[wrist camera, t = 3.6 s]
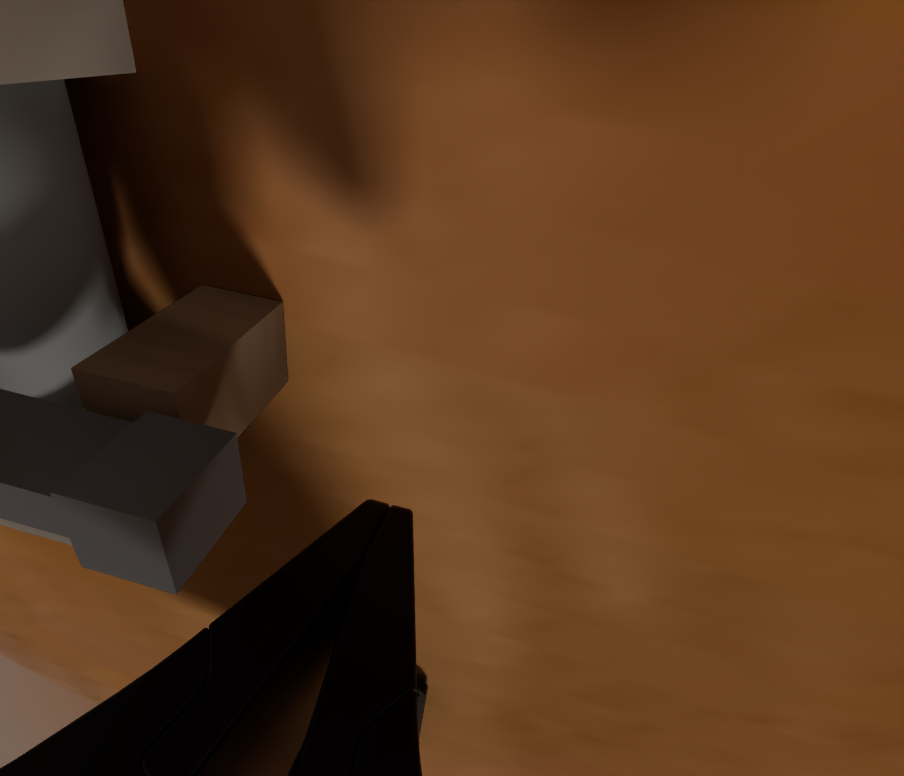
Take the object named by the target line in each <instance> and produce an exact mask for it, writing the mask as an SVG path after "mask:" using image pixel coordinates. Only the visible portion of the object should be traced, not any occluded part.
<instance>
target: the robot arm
mask: <svg viewBox="0 0 904 776" xmlns="http://www.w3.org/2000/svg"><path fill="white" fill-rule="evenodd" d="M427 690H428V686H427V684H426V683H425V682H424V681H423V680H421V679H419V678H417V677H416V633H415V588H414V543H413V512H412V511H411V510H410V509H407V508H403V507H399V506H395V505H393V506H391V507H390V506H389V504H387V503H384V502H380V501H376V500H372V499H369V500H366V501H365V502H363V503H362V504H361V505H360V506H358V507H357V508H356V509H354V510H353V511H352V512H351V513H349V514H348V515H347V516H346V517H344V518H343V519H342V520H341V521H339V522H338V523H337V524H336V525H334V526H333V527H332V528H331V529H329V530H328V531H327V532H325V533H324V534H323V535H322V536H320V537H319V538H318V539H317V540H315V541H314V542H313V543H312V544H310V545H309V546H308V547H307V548H305V549H304V550H303V551H302V552H300V553H299V554H298V555H297V556H295V557H294V558H293V559H291V560H290V561H289V562H288V563H286V564H285V565H284V566H283V567H281V568H280V569H279V570H278V571H276V572H275V573H274V574H273V575H271V576H270V577H269V578H267V579H266V580H265V581H264V582H262V583H261V584H260V585H259V586H257V587H256V588H255V589H254V590H252V591H251V592H250V593H249V594H247V595H246V596H245V597H244V598H242V599H241V600H240V601H238V602H237V603H236V604H235V605H233V606H232V607H231V608H230V609H228V610H227V611H226V612H225V613H223V614H222V615H221V616H220V617H218V618H217V619H216V620H215V621H213V622H212V623H211V624H210V625H209V629H208V628H204V629H203V630H202V631H200V632H199V633H198V634H197V635H195V636H194V637H193V638H192V639H190V640H189V641H188V642H187V643H185V644H184V645H183V646H181V647H180V648H179V649H177V650H176V651H175V652H173V653H172V654H171V655H169V656H168V657H167V658H165V659H164V660H163V661H161V662H160V663H159V664H157V665H156V666H155V667H154V668H152V669H151V670H149V671H148V672H146V673H145V674H143V675H142V676H140V677H139V678H138V679H136V680H135V681H133V682H132V683H130V684H129V685H127V686H126V687H124V688H123V689H122V690H120V691H119V692H117V693H116V694H114V695H113V696H111V697H110V698H108V699H107V700H105V701H104V702H102V703H101V704H99V705H97V706H96V707H95V708H93V709H92V710H90V711H89V712H87V713H85V714H84V715H82V716H81V717H79V718H78V719H76V720H75V721H73V722H72V723H70V724H69V725H67V726H66V727H64V728H63V729H61V730H60V731H58V732H56V733H55V734H53V735H52V736H50V737H49V738H47V739H46V740H44V741H43V742H41V743H40V744H38V745H37V746H35V747H34V748H32V749H31V750H29V751H28V752H26V753H25V754H23V755H21V756H20V757H18V758H17V759H16V760H14V761H12V762H11V763H9V764H7V765H5V766H3V767H2V768H0V776H422V771H421V762H420V752H419V735H420V730H421V724H422V718H423V713H424V707H425V701H426V695H427Z"/></svg>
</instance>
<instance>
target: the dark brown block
mask: <svg viewBox="0 0 904 776" xmlns="http://www.w3.org/2000/svg"><path fill="white" fill-rule="evenodd" d="M71 371H72V374H73V377H74V380H75V383H76V386H77V389H78V392H79V395H80V397H81V400H82V403H83V406H84V409H85V410H86V411H90V412H94V413H98V414H102V415H106V416H109V417H113V418H117V419H121V420H125V421H129V422H135V421H136V420H137V419H138V418H139V417H141V416H142V415H143V414H144V413H145V412H147V411H151V412H155V413H159V414H163V415H167V416H171V417H175V418H179V419H183V420H187V421H191V422H195V423H199V424H203V425H207V426H211V427H215V428H219V429H223V430H227V431H231V432H235V433H237V438H238V437H239V436H240V435H241V433H242V432H243V431H244V430H245V429H246V428H247V427H248V426H249V424H250V423H251V422H252V421H253V420H254V419H255V418H256V417H257V416H258V414H259V413H260V412H261V411H262V410H263V409H264V408H265V407H266V406H267V404H268V403H269V402H270V401H271V400H272V399H273V398H274V397H275V396H276V394H277V393H278V392H279V391H280V390H281V389H282V388H283V387H284V385H285V384H286V383H287V382H288V372H287V357H286V343H285V328H284V314H283V302H280V301H275V300H271V299H266V298H262V297H257V296H252V295H248V294H243V293H238V292H234V291H229V290H224V289H220V288H215V287H211V286H206V285H201V286H199V287H198V288H196V289H195V290H193V291H191V292H190V293H188V294H187V295H185V296H184V297H182V298H180V299H179V300H177V301H176V302H174V303H172V304H171V305H169V306H168V307H166V308H165V309H163V310H161V311H160V312H158V313H157V314H155V315H154V316H152V317H150V318H149V319H147V320H146V321H144V322H142V323H141V324H139V325H138V326H136V327H135V328H133V329H131V330H130V331H128V332H127V333H125V334H124V335H122V336H120V337H119V338H117V339H116V340H114V341H112V342H111V343H109V344H108V345H106V346H105V347H103V348H101V349H100V350H98V351H97V352H95V353H94V354H92V355H90V356H89V357H87V358H86V359H84V360H82V361H81V362H79V363H78V364H76V365H75V366H73V367H71Z"/></svg>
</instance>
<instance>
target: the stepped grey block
mask: <svg viewBox="0 0 904 776" xmlns="http://www.w3.org/2000/svg"><path fill="white" fill-rule="evenodd" d="M246 502H247V501H246V494H245V487H244V480H243V473H242V466H241V459H240V452H239V445H238V438H237V433H235V432H231V431H227V430H223V429H219V428H215V427H211V426H207V425H203V424H199V423H195V422H191V421H187V420H183V419H179V418H175V417H171V416H167V415H163V414H159V413H155V412H151V411H147V412H145V413H144V414H143V415H142V416H141V417H139V418H138V419H137V420H136V421H135V422H129V421H125V420H121V419H117V418H113V417H109V416H106V415H102V414H98V413H94V412H90V411H86V410H82V409H78V408H74V407H70V406H66V405H62V404H58V403H54V402H50V401H47V400H43V399H39V398H35V397H31V396H27V395H23V394H19V393H15V392H11V391H7V390H3V389H0V518H1V519H5V520H8V521H12V522H15V523H19V524H22V525H26V526H29V527H32V528H36V529H39V530H43V531H46V532H50V533H53V534H57V535H60V536H64V537H67V538H70V541H71V543H72V545H73V548H74V550H75V552H76V555H77V557H78V559H79V562H80V564H81V566H82V567H84V568H88V569H91V570H95V571H98V572H101V573H105V574H108V575H112V576H115V577H118V578H122V579H125V580H129V581H132V582H135V583H139V584H142V585H145V586H149V587H152V588H156V589H159V590H162V591H166V592H169V593H173V594H176V595H177V594H178V592H179V591H180V590H181V588H182V587H183V586H184V584H185V583H186V582H187V580H188V579H189V578H190V576H191V575H192V574H193V572H194V571H195V570H196V569H197V567H198V566H199V565H200V563H201V562H202V561H203V559H204V558H205V557H206V555H207V554H208V553H209V551H210V550H211V549H212V547H213V546H214V545H215V543H216V542H217V541H218V539H219V538H220V537H221V535H222V534H223V533H224V531H225V530H226V529H227V527H228V526H229V525H230V524H231V522H232V521H233V520H234V518H235V517H236V516H237V514H238V513H239V512H240V510H241V509H242V508H243V506H244V505H245V504H246Z"/></svg>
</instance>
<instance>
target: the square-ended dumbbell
mask: <svg viewBox="0 0 904 776" xmlns="http://www.w3.org/2000/svg"><path fill="white" fill-rule="evenodd" d="M127 73H136V67H135V62H134V57H133V51H132V46H131V41H130V36H129V30H128V25H127V20H126V14H125V9H124V4H123V0H0V389H3V390H7V391H11V392H15V393H19V394H23V395H27V396H31V397H35V398H39V399H43V400H47V401H50V402H54V403H58V404H62V405H66V406H70V407H74V408H78V409H82V410H85V409H84V406H83V403H82V400H81V397H80V395H79V392H78V389H77V386H76V383H75V380H74V377H73V374H72V371H71V367H73V366H75V365H76V364H78V363H79V362H81V361H82V360H84V359H86V358H87V357H89V356H90V355H92V354H94V353H95V352H97V351H98V350H100V349H101V348H103V347H105V346H106V345H108V344H109V343H111V342H112V341H114V340H116V339H117V338H119V337H120V336H122V335H124V334H125V333H127V332H128V328H127V324H126V320H125V316H124V313H123V309H122V305H121V301H120V297H119V293H118V289H117V285H116V281H115V277H114V273H113V269H112V265H111V262H110V258H109V254H108V250H107V246H106V242H105V238H104V234H103V230H102V226H101V222H100V218H99V215H98V211H97V207H96V203H95V199H94V195H93V191H92V187H91V183H90V179H89V175H88V171H87V167H86V164H85V160H84V156H83V152H82V148H81V144H80V140H79V136H78V132H77V128H76V124H75V120H74V116H73V113H72V109H71V105H70V101H69V97H68V93H67V89H66V85H65V81H64V79H70V78H82V77H93V76H104V75H115V74H127ZM0 525H3V526H7V527H10V528H13V529H17V530H20V531H24V532H27V533H31V534H34V535H38V536H41V537H45V538H48V539H51V540H55V541H58V542H62V543H65V544H69V545H72V543H71V541H70V538H67V537H64V536H60V535H57V534H53V533H50V532H46V531H43V530H39V529H36V528H32V527H29V526H26V525H22V524H19V523H15V522H12V521H8V520H5V519H1V518H0ZM72 546H73V545H72Z"/></svg>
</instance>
